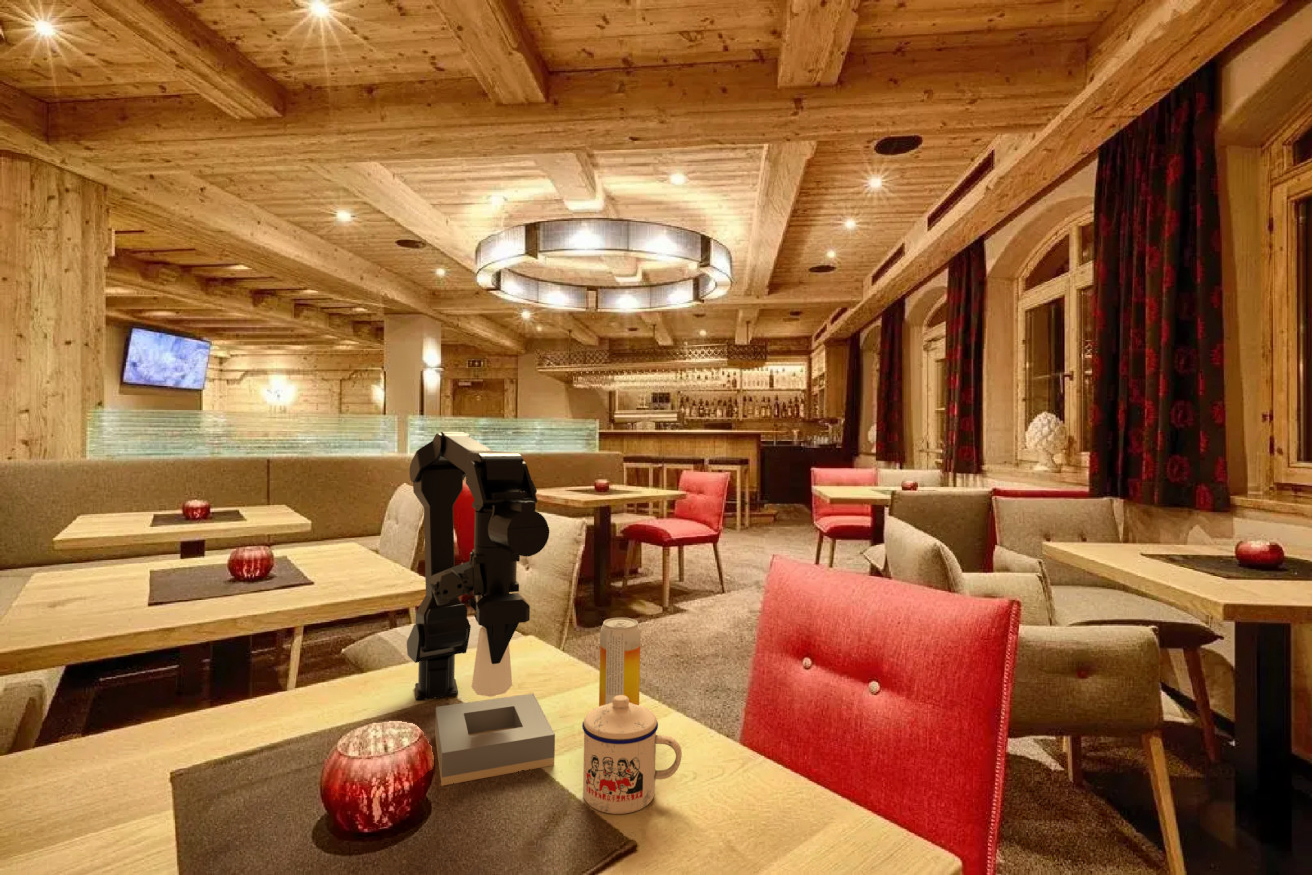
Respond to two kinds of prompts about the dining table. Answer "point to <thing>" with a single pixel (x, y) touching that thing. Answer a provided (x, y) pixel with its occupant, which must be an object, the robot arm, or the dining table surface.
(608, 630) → the beer can
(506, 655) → the pepper shaker
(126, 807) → the dining table surface
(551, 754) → the socket block
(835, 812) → the dining table surface
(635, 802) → the teacup with lid
